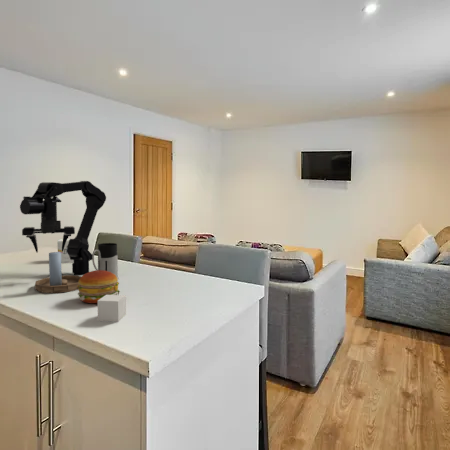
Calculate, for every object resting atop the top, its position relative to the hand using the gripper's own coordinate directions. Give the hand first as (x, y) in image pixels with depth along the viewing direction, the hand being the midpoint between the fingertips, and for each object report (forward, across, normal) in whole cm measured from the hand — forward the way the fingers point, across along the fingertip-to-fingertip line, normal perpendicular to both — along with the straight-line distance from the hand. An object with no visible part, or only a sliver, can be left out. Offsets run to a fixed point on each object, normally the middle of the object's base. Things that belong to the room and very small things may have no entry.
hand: (49, 251), depth 141 cm
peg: (+11, +2, -17) cm, 20 cm away
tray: (+12, +4, -12) cm, 17 cm away
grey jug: (+12, +20, -8) cm, 25 cm away
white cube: (+12, +18, -54) cm, 58 cm away
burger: (+12, +16, -34) cm, 40 cm away
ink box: (+12, +6, +43) cm, 45 cm away
